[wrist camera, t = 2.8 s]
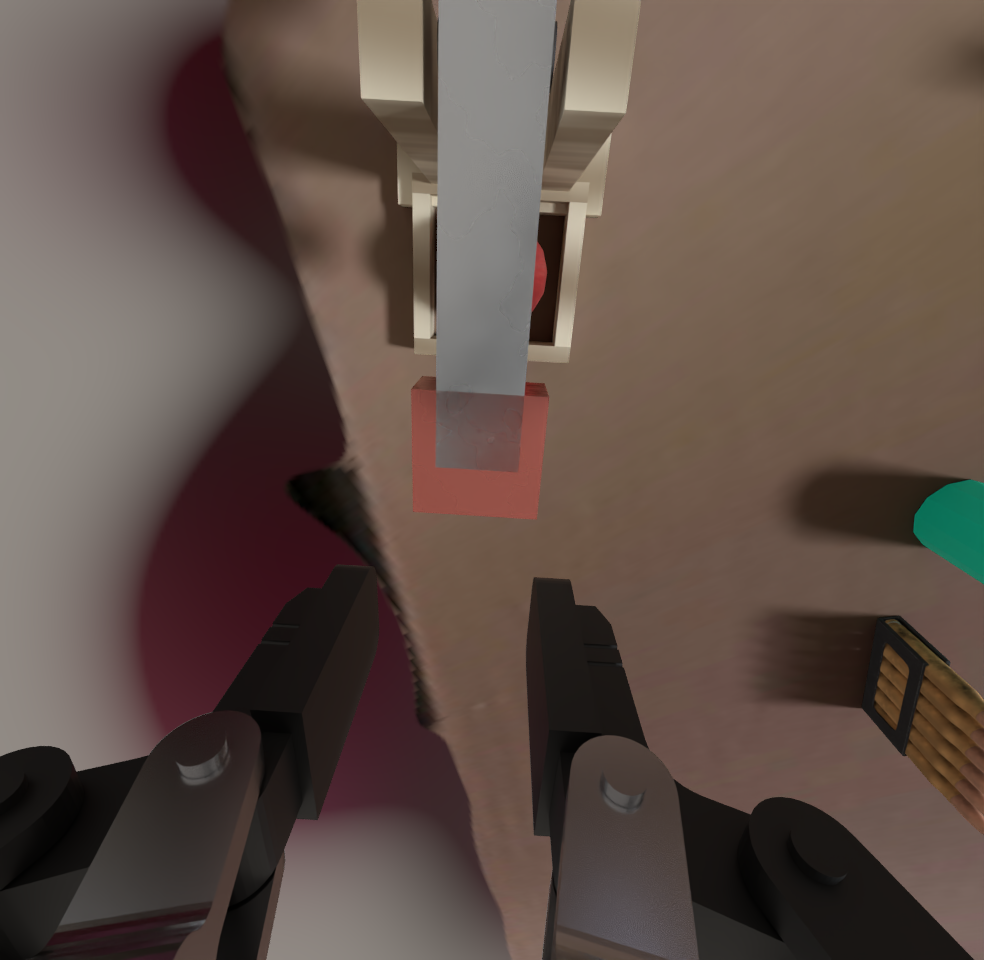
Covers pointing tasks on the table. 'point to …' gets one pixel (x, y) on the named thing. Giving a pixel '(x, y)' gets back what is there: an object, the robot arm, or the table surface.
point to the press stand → (568, 144)
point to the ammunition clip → (928, 714)
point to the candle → (955, 525)
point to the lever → (486, 262)
